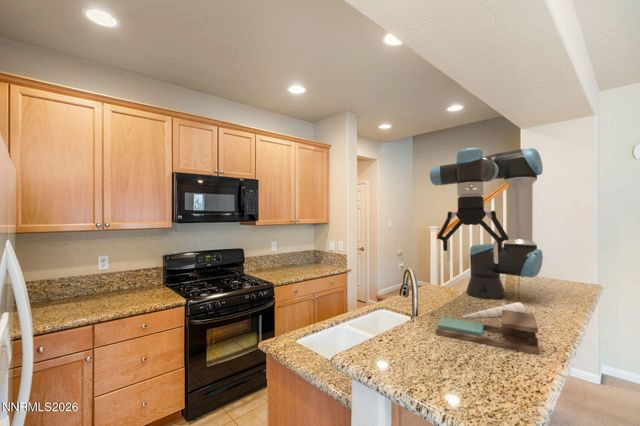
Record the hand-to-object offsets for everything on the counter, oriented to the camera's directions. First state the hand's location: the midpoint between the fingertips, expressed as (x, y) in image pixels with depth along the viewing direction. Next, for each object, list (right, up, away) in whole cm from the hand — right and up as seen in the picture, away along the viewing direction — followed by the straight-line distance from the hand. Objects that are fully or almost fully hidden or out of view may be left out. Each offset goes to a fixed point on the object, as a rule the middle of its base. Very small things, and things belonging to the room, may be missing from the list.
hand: (471, 262), depth 93 cm
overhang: (+1, -21, -6) cm, 22 cm away
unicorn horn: (+14, -22, +10) cm, 28 cm away
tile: (-5, -22, -3) cm, 23 cm away
